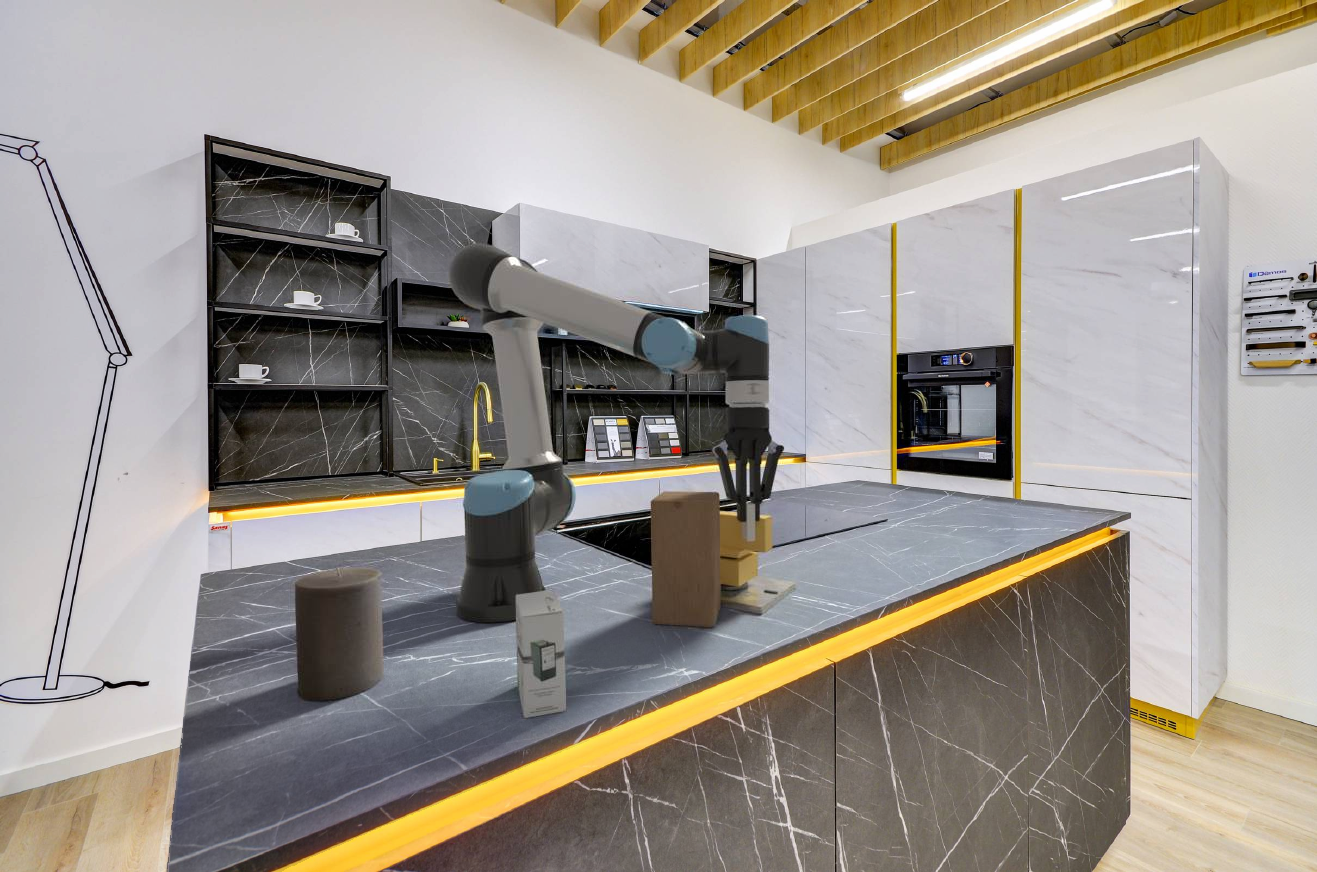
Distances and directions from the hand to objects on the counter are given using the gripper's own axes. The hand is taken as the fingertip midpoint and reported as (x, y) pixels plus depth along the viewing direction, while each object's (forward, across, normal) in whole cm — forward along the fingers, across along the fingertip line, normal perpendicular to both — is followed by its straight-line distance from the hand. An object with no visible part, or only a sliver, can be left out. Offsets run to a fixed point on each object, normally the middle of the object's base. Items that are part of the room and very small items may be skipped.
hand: (748, 539), depth 102 cm
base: (+11, -2, +6) cm, 12 cm away
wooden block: (+11, -12, -4) cm, 17 cm away
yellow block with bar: (+8, -2, +6) cm, 10 cm away
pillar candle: (+11, -61, -17) cm, 64 cm away
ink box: (+11, -36, -27) cm, 46 cm away
